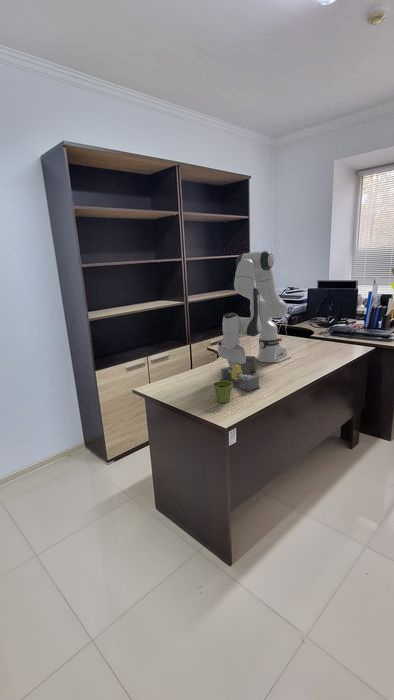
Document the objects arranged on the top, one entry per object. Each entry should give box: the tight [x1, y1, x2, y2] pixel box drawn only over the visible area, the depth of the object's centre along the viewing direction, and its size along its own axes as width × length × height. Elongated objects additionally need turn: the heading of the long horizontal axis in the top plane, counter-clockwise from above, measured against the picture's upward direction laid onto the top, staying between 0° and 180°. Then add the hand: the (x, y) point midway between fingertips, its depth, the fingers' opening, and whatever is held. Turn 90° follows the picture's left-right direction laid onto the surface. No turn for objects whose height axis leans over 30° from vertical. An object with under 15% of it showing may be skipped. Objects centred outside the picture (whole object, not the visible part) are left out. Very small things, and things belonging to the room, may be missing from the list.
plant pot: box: [212, 380, 233, 404], centre depth 166 cm, size 9×9×9 cm
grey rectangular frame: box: [219, 366, 261, 393], centre depth 186 cm, size 23×9×6 cm, turn 33°
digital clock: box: [236, 355, 257, 375], centre depth 203 cm, size 16×9×11 cm, turn 65°
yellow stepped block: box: [231, 364, 243, 380], centre depth 187 cm, size 4×4×7 cm
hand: (232, 368), depth 190 cm, fingers closed
